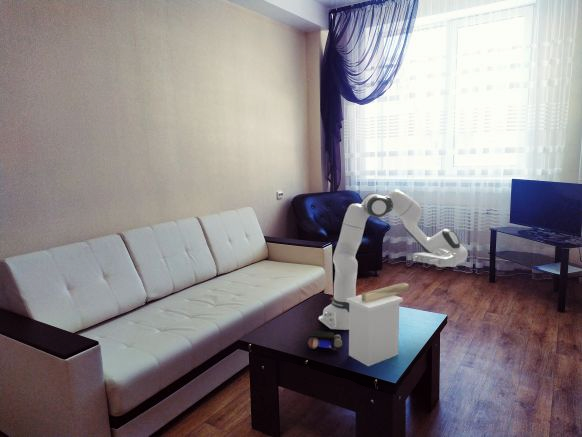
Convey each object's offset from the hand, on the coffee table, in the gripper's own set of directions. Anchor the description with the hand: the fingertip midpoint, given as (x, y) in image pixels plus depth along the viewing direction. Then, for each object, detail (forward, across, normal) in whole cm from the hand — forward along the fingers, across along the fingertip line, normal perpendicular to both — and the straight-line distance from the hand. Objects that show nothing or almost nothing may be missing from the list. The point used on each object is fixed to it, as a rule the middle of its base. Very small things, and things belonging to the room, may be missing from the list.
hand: (421, 260), depth 197 cm
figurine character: (+43, -18, +38) cm, 61 cm away
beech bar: (+23, 0, +13) cm, 26 cm away
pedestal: (+29, -1, +39) cm, 49 cm away
